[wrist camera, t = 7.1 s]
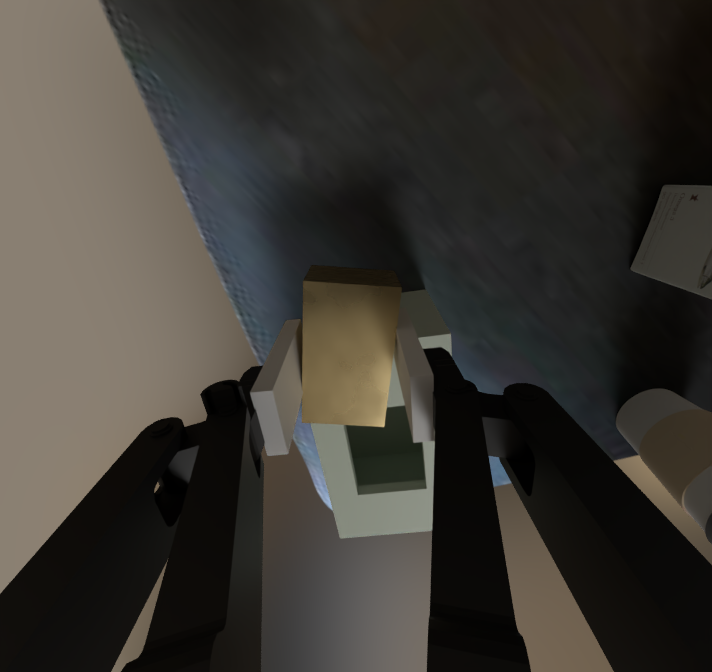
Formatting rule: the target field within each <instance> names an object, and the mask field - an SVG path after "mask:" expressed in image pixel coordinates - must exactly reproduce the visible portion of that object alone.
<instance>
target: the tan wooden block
mask: <svg viewBox="0 0 712 672" xmlns="http://www.w3.org/2000/svg"><path fill="white" fill-rule="evenodd" d="M401 292H402V286H401V284H400V282H399V280H398V278H397V276H396V274H395V272H394V271H390V270H376V269H361V268H347V267H332V266H318V265H311V267H310V269H309V271H308V273H307V275H306V277H305V278H304V280H303V354H302V390H303V395H302V423H318V424H337V425H356V426H374V427H384V425H385V417H386V409H387V402H388V394H389V386H390V378H391V370H392V363H393V355H394V347H395V339H396V329H397V324H398V316H399V308H400V300H401Z"/></svg>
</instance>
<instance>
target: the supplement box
mask: <svg viewBox="0 0 712 672" xmlns="http://www.w3.org/2000/svg"><path fill="white" fill-rule="evenodd" d="M630 269H631V270H632V271H634V272H637V273H639V274H642V275H645V276H648V277H651V278H653V279H656V280H659V281H662V282H665V283H668V284H670V285H673V286H676V287H679V288H682V289H685V290H687V291H690V292H693V293H696V294H699V295H702V296H704V297H707V298H709V299H712V186H702V185H664V186H663V187H662V190H661V193H660V196H659V199H658V202H657V205H656V207H655V210H654V213H653V215H652V218H651V221H650V223H649V226H648V228H647V230H646V233H645V235H644V238H643V240H642V242H641V245H640V248H639V250H638V252H637V254H636V257H635V259H634V261H633V264H632V266H631V268H630Z"/></svg>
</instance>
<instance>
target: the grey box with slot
mask: <svg viewBox="0 0 712 672" xmlns="http://www.w3.org/2000/svg"><path fill="white" fill-rule="evenodd" d="M400 308H406V310H407V312H408V315H409V317H410V320H411V322H412V324H413V327H414V329H415V332H416V334H417V336H418V339H419V341H420V344H421V346H422V348H423V349H426V348H436V347H442V348H443V349H445V350H447V351H448V352H449V353H450V355H451V356H452V352H451V333H450V331H449V330H448V328H447V326H446V324H445V322H444V321H443V319H442V317H441V315H440V314H439V312H438V310H437V308H436V307H435V305H434V303H433V301H432V300H431V298H430V296H429V294H428V292H427V291H426V289H425V290H418V291H410V292H403V293H401V300H400ZM311 426H312V430H313V434H314V438H315V442H316V446H317V450H318V454H319V458H320V462H321V466H322V469H323V473H324V477H325V481H326V485H327V489H328V493H329V497H330V501H331V505H332V509H333V512H334V516H335V520H336V524H337V528H338V531H339V536H340V538H350V537H362V536H374V535H387V534H399V533H410V532H423V531H432V523H433V486H434V449H435V441H429V442H417V443H413V438H412V434H411V430H410V425H409V421H408V417H407V412H406V408H405V403H404V399H403V395H402V390H401V386H400V382H399V377H398V373H397V369H396V364H395V360H394V355H393V363H392V370H391V378H390V386H389V394H388V402H387V409H386V417H385V425H384V427H374V426H356V425H337V424H318V423H311Z"/></svg>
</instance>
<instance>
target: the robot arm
mask: <svg viewBox="0 0 712 672" xmlns="http://www.w3.org/2000/svg"><path fill="white" fill-rule="evenodd" d="M302 354H303V328H302V323H301V319H294V320H286V321H285V323H284V325H283V327H282V329H281V331H280V333H279V335H278V337H277V339H276V341H275V343H274V345H273V347H272V349H271V351H270V353H269V355H268V357H267V359H266V361H265V363H264V365H263V366H255V367H251V368H250V369H249V370H247V371H246V372H245V373H244V374H243V376H242V377H241V379H240V381H239V382H238V381H237V380H225V381H220V382H217V383H215V384H212V385H210V386H209V387H207V388H206V389H205V390H203V392H202V393H201V394H200V395H201V398H202V401H203V404H204V406H205V409H206V412H207V419H206V421H203V422H201V423H197V424H194V425H190V426H187V427H184V425H183V422H182V420H181V419H179V418H174V417H170V418H166V419H161V420H158V421H156V422H154V423H153V424H151V425H150V426H147V427H146V428H145V429H144V430H143V431H142V432H141V433H140V434H139V435H138V436H137V438H136V439H135V440H134V441H133V442H132V443H131V444H130V446H129V447H128V448H127V449H126V450H125V451H124V452H123V454H122V455H121V456H120V457H119V458H118V460H117V461H116V462H115V463H114V464H113V465H112V466H111V467H110V469H109V470H108V471H107V472H106V473H105V475H103V477H102V478H101V479H100V480H99V481H98V482H97V483H96V485H95V486H94V487H93V488H92V489H91V490H90V492H89V493H88V494H87V495H86V496H85V497H84V498H83V500H82V501H81V502H80V503H79V504H78V505H77V506H76V508H75V509H74V510H73V511H72V512H71V513H70V515H69V516H68V517H67V518H66V519H65V520H64V521H63V523H62V524H61V525H60V526H59V527H58V529H56V531H55V532H54V533H53V534H52V535H51V536H50V537H49V539H48V540H47V541H46V542H45V543H44V544H43V545H42V547H41V548H40V549H39V550H38V551H37V552H36V554H35V555H34V556H33V557H32V558H31V559H30V561H29V562H28V563H27V564H26V565H25V566H24V567H23V568H22V570H21V571H20V572H19V573H18V574H17V575H16V576H15V578H14V579H13V580H12V581H11V582H10V583H9V585H8V586H7V587H6V588H5V589H4V590H3V591H2V593H1V594H0V672H111V671H112V669H113V667H114V665H115V663H116V661H117V659H118V657H119V655H120V653H121V651H122V649H123V647H124V645H125V643H126V641H127V639H128V637H129V635H130V633H131V631H132V629H133V627H134V625H135V623H136V621H137V619H138V617H139V615H140V613H141V611H142V609H143V607H144V605H145V603H146V602H147V599H148V598H149V596H150V594H151V591H152V590H153V588H154V586H155V584H156V582H157V580H158V578H159V576H160V574H161V572H162V570H163V568H164V566H165V564H166V562H167V560H168V562H167V566H166V569H165V573H164V576H163V580H162V584H161V588H160V591H159V595H158V599H157V602H156V606H155V610H154V613H153V617H152V621H151V624H150V628H149V631H148V635H147V639H146V642H145V645H144V648H143V651H142V653H141V654H140V656H139V657H138V658H137V659H135V660H133V661H131V662H129V663H127V664H126V665H125V667H124V668H123V669H122V671H121V672H261V622H262V552H263V551H262V550H263V480H264V478H263V477H264V463H263V460H262V456H261V452H262V449H263V446H264V445H265V449H266V452H267V455H268V456H273V455H284V454H288V452H289V448H290V444H291V440H292V436H293V432H294V428H295V424H296V420H297V416H298V411H299V407H300V403H301V399H302V395H303V390H302ZM394 360H395V364H396V369H397V373H398V377H399V382H400V386H401V390H402V395H403V399H404V403H405V408H406V412H407V417H408V421H409V425H410V430H411V434H412V438H413V443H417V442H429V441H435V449H434V486H433V523H432V560H431V596H430V617H429V626H428V652H427V653H428V654H427V672H531V669H530V664H529V659H528V654H527V649H526V646H525V643H524V639H523V637H522V636H521V635H520V633H519V632H518V630H517V626H516V621H515V616H514V609H513V604H512V597H511V591H510V585H509V579H508V573H507V567H506V561H505V555H504V549H503V542H502V536H501V530H500V524H499V518H498V512H497V506H496V500H495V494H494V488H493V481H492V475H491V469H490V463H489V457H488V456H494V457H499V459H500V462H501V464H502V466H503V467H504V469H505V471H506V473H507V475H508V477H509V478H510V480H511V482H512V484H513V486H514V488H515V489H516V491H517V493H518V495H519V497H520V499H521V501H522V502H523V504H524V506H525V508H526V510H527V512H528V514H529V515H530V517H531V519H532V521H533V523H534V525H535V527H536V528H537V530H538V532H539V534H540V536H541V538H542V539H543V541H544V543H545V545H546V547H547V548H548V551H549V552H550V554H551V556H552V558H553V560H554V561H555V563H556V565H557V567H558V569H559V571H560V573H561V575H562V576H563V578H564V580H565V582H566V584H567V585H568V588H569V589H570V591H571V593H572V595H573V597H574V599H575V600H576V602H577V604H578V606H579V608H580V610H581V611H582V613H583V615H584V617H585V619H586V621H587V623H588V624H589V626H590V628H591V630H592V632H593V634H594V635H595V637H596V639H597V641H598V643H599V645H600V647H601V648H602V650H603V652H604V654H605V656H606V658H607V660H608V661H609V663H610V665H611V667H612V669H613V671H614V672H712V565H711V564H710V563H709V562H708V561H707V560H706V559H705V557H704V556H703V555H701V553H700V552H699V551H698V550H697V549H696V548H695V547H694V546H693V545H692V544H691V543H690V542H689V541H688V540H687V539H686V537H685V536H683V534H682V533H681V532H680V531H679V530H678V529H677V528H676V527H675V526H674V525H673V524H672V523H671V522H670V521H669V520H668V519H667V517H666V516H665V515H664V514H663V513H662V512H661V511H660V510H659V509H658V508H657V507H656V506H655V505H654V504H653V503H652V502H651V501H650V500H649V498H647V496H646V495H645V494H644V493H643V492H641V490H640V489H639V488H638V487H637V486H636V485H635V484H634V483H633V482H632V481H631V480H630V478H629V477H627V475H626V474H625V473H624V472H623V471H622V470H621V469H620V468H619V467H618V466H617V465H616V464H615V463H614V462H613V461H612V460H611V458H610V457H609V456H608V455H607V454H606V453H605V452H604V451H603V450H602V449H601V448H600V447H599V446H598V445H597V444H596V443H595V442H594V441H593V440H592V438H591V437H590V436H589V435H588V434H587V433H586V432H585V431H584V430H583V429H582V428H581V427H580V426H579V425H578V424H577V423H576V422H575V421H574V419H573V418H572V417H571V416H570V415H569V414H568V413H567V412H566V411H565V410H564V409H563V408H562V407H561V406H560V405H559V404H558V403H557V402H556V401H555V399H554V398H553V397H552V396H551V395H550V394H549V393H548V392H547V391H545V390H544V389H542V388H540V387H538V386H535V385H532V384H528V383H516V384H512V385H509V386H507V387H506V388H505V389H504V392H503V395H494V394H487V393H482V392H479V391H478V390H477V387H476V386H475V384H473V383H472V382H470V381H468V380H465V379H464V378H463V376H462V374H461V372H460V371H459V369H458V367H457V365H456V364H455V362H454V360H453V358H452V356H451V355H450V353H449V352H448V351H447V350H445V349H443V348H442V347H436V348H426V349H423V348H422V346H421V344H420V341H419V339H418V336H417V334H416V332H415V329H414V327H413V324H412V322H411V320H410V317H409V315H408V312H407V310H406V308H399V316H398V324H397V329H396V339H395V347H394ZM157 482H158V483H159V485H160V486H159V488H158V490H157V491H156V492H155V493H154V489H155V486H156V484H157Z"/></svg>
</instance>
